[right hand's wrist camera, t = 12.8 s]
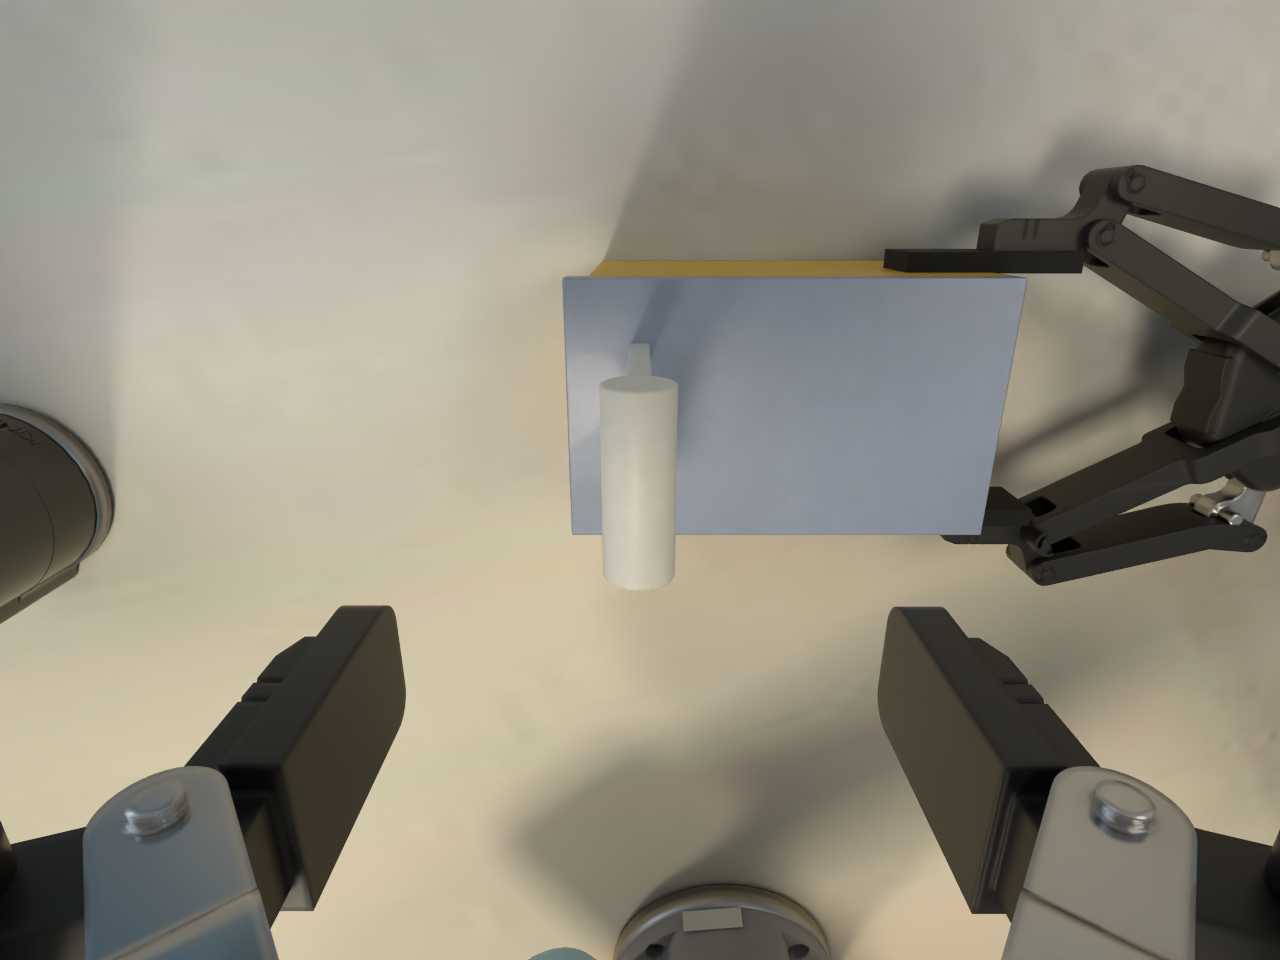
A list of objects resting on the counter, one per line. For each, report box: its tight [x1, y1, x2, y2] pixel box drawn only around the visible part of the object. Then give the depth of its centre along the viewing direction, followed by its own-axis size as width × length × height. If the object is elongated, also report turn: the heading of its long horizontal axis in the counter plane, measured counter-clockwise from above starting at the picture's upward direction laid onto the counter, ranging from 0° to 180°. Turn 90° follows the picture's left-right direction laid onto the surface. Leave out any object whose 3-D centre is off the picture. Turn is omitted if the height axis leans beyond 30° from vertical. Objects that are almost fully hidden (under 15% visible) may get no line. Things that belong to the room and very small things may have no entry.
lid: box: [562, 276, 1027, 591], centre depth 22 cm, size 16×10×9 cm, turn 90°
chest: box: [590, 261, 1011, 276], centre depth 31 cm, size 15×10×10 cm, turn 90°
